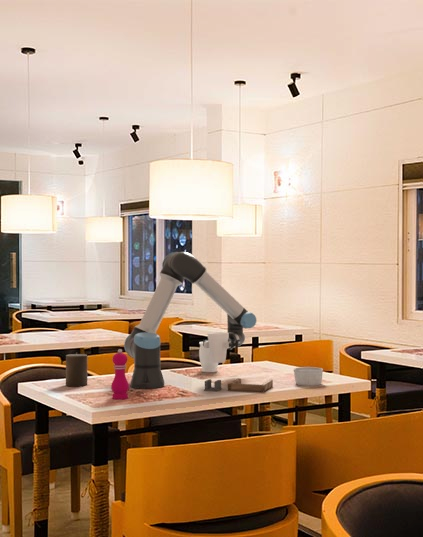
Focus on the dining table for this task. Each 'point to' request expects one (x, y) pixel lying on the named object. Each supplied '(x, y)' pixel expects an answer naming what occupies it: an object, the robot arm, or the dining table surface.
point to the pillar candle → (76, 370)
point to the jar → (206, 360)
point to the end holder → (249, 386)
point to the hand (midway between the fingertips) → (215, 345)
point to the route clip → (209, 388)
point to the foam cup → (218, 346)
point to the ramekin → (308, 376)
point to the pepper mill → (120, 377)
